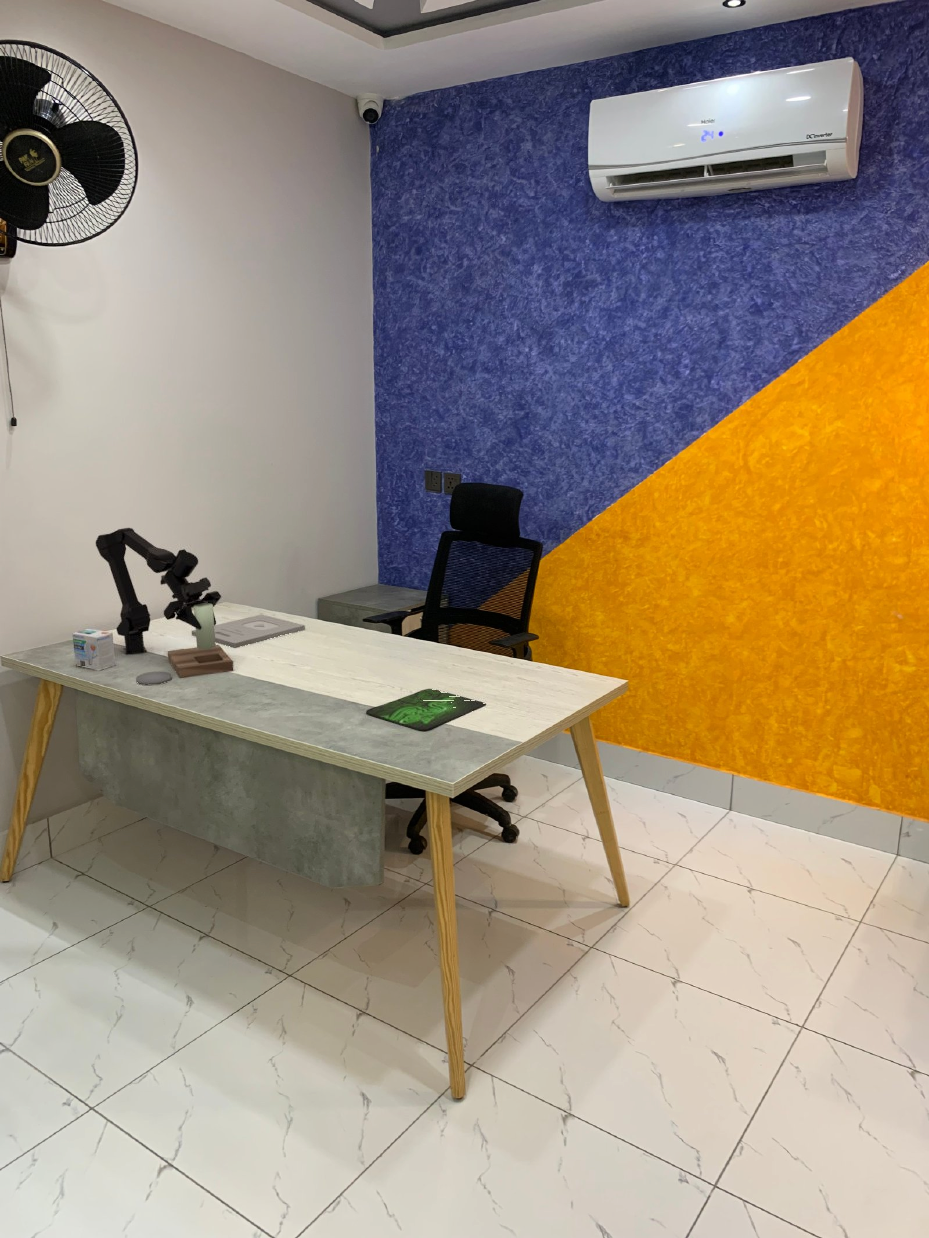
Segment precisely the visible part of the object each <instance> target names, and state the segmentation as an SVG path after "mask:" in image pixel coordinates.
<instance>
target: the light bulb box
mask: <svg viewBox="0 0 929 1238" xmlns="http://www.w3.org/2000/svg"><path fill="white" fill-rule="evenodd" d="M113 634H114V633H113V632H112V631H111V632H110V631H105V630H99V629H94V628H86V629H84V630H79V631H76V632H73V633H72V641H73V650H74V659H75V660H74V662H75V665H76V664H77V665H80V666H86V667H91V668H94V669H104V668H105V667H110V666H113V665H115V664H116V656H115V654H116V653H115V646H114V636H113ZM113 667H114V666H113ZM110 668H111V667H110ZM104 670H105V669H104Z"/></svg>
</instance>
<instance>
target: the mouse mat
mask: <svg viewBox="0 0 929 1238" xmlns="http://www.w3.org/2000/svg"><path fill="white" fill-rule="evenodd" d="M432 689H433V688H425V689H422V690H419V691H417V692H414V693H411V694H408V695H406V696H404V697H400V698H398V699H395V700H392V701H389V702H386V703H384V704H381V705H377V706H374V707H371V708H369V709H367V710H366V711H365V714H367V715H368V716H371V717H373V718H377V719H380V720H384V721H388V722H391V723H393V724H397V725H399V726H400V725H401V726H403V727H406V728H411V729H413V730H417V731H422V732H423V731H428V730H429V731H430V730H432V729H434V728H437V727H439V726H442V725H444V723H445V724H447V723H449V722H451V720H452V721H454V720H456V719H459V718H461V717H462V716H463V717H464V716H465V715H468V714H470V713H472V711H473V712H474V711H476V710H478V709H480V708H483V707H485V706H487V703H485V702H484V701H479V700H477V699H473V698H469V697H465V696H462V695H457V694H454V693H450V692H447V693H441V692H440V691H441V690H440V691H439V689H436V690H432ZM456 695H457V696H460V697H449V696H456ZM423 700H454V701H423ZM464 700H470V701H464ZM471 700H475V701H471ZM451 702H452V703H451ZM483 703H485V704H483ZM453 707H456V708H453Z"/></svg>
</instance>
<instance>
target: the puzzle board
mask: <svg viewBox="0 0 929 1238" xmlns="http://www.w3.org/2000/svg"><path fill="white" fill-rule="evenodd" d="M166 652H167V660H169V661H168V662H169V664H170V666H171V667H172V668H173V670H174V672H175V671H176V672H175V673H176V675H177V677H178V679H181V678H182V679H183V678H188V677H195V676H204V674H205V675H211V674H217V673H225V671H226V672H230V671H231V672H232V671H233V672H234V661H233V659H232V658H231V657H230V655H228V653H227V652H225V650H224V649H223V648H222V646H221V645H220V644H216V647H214V648H212V649H198V648H197V646H196V647H190V648H181V649H172V650H167V651H166Z"/></svg>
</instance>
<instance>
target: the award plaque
mask: <svg viewBox="0 0 929 1238" xmlns="http://www.w3.org/2000/svg"><path fill="white" fill-rule="evenodd" d="M214 630H215V642H216V643H215V644H218V645H223V646H225V645H226V647H229V646H230V647H229V648H232V649H237V648H241V647H240V646H242V647H245V645H246V646H249V645H248V644H250V645H253V644H257V643H260V641H261V642H264V640H265V641H268V640H267V639H269V640H271V639H270V638H272V639H275V638H274V637H276V638H279V637H278V636H280V635H284V636H286V635H285V634H288V635H290V634H289V633H292V634H295V633H299V632H302V631H305V630H306V625H304V624H301V623H297V622H293V621H289V620H286V619H281V618H277V617H274V616H273V617H272V616H269V615H265V614H257V615H253V616H252V615H251V616H247V617H244V618H240V619H236V620H231V621H227V622H223V623H218V624H216V625H214ZM298 631H299V632H298ZM191 636H192V637H196V629H193V630H191ZM280 637H281V636H280ZM256 642H257V643H256Z"/></svg>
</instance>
